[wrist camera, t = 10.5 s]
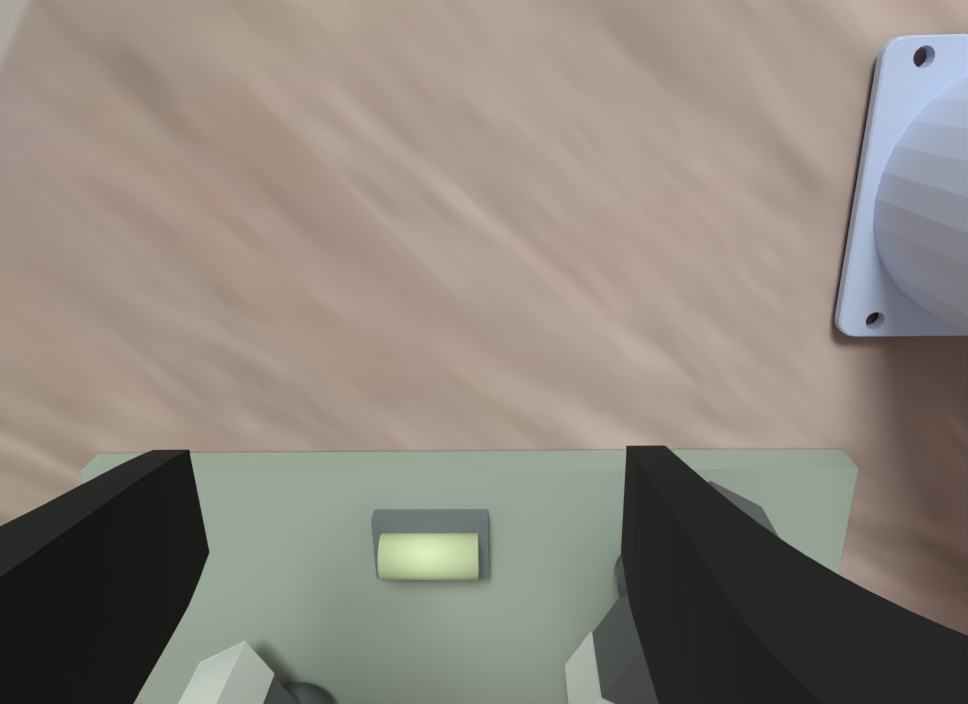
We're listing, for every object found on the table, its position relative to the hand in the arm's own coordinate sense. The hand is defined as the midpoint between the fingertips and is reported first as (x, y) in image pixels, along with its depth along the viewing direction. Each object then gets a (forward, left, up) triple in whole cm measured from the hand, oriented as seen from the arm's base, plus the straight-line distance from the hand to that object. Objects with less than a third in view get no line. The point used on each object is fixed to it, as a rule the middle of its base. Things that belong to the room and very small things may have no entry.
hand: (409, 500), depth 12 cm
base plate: (0, +12, -10) cm, 16 cm away
